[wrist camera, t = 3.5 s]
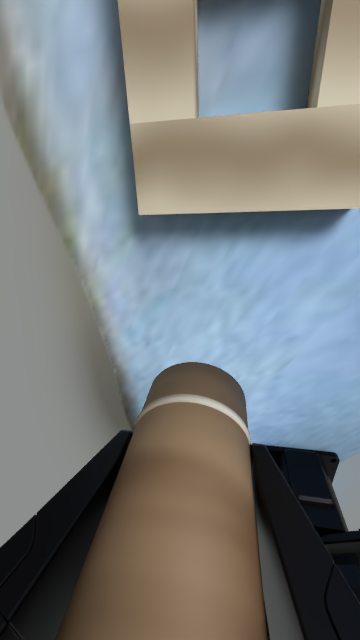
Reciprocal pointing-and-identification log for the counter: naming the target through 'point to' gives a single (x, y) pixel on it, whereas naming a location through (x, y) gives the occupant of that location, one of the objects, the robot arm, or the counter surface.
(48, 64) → the counter surface
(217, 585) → the peg
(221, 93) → the counter surface
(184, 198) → the board
